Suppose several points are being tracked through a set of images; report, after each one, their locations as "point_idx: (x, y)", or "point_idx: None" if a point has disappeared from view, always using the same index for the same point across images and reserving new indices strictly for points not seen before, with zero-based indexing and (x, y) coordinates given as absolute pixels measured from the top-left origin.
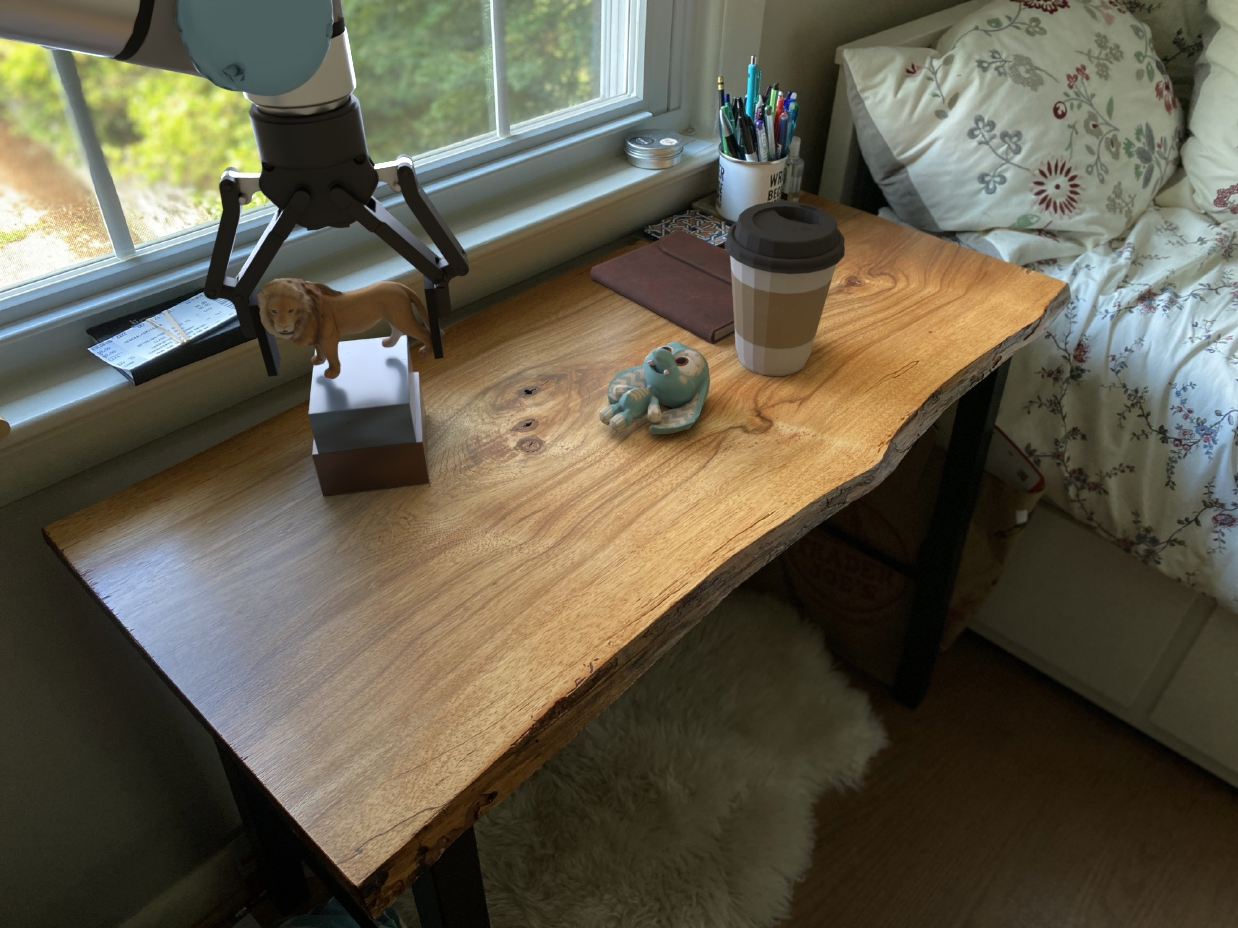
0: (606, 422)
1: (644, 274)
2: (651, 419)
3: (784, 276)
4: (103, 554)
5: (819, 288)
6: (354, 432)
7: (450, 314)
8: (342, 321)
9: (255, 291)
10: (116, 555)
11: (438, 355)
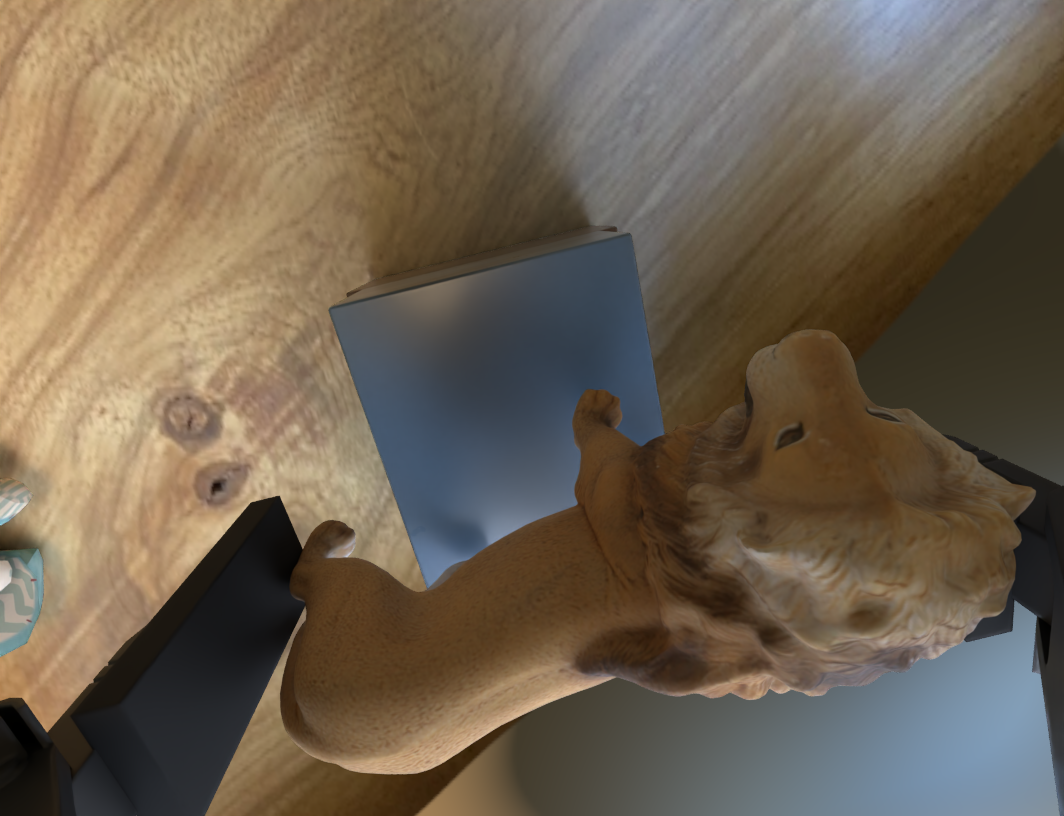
0: (4, 479)
1: None
2: None
3: None
4: (1007, 15)
5: None
6: (505, 257)
7: (138, 633)
8: (559, 530)
9: (995, 618)
10: (980, 11)
11: (262, 505)
